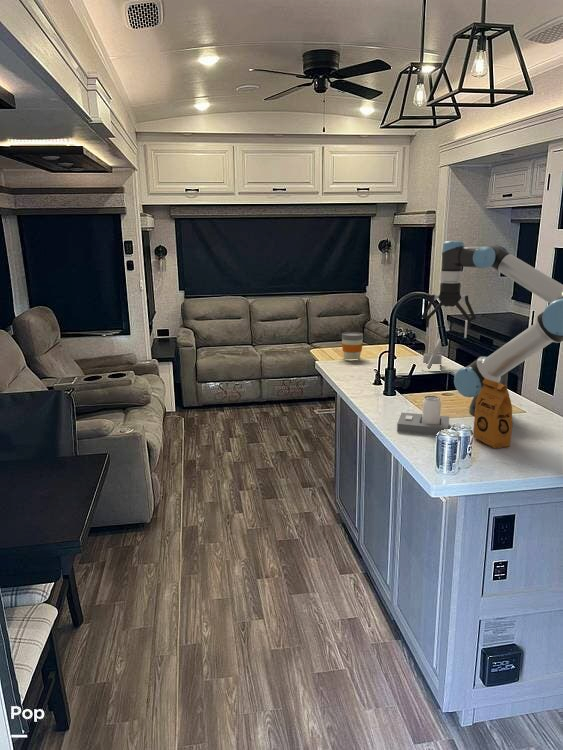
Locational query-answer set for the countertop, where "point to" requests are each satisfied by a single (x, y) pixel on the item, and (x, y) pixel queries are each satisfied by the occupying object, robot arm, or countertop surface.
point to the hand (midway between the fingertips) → (447, 336)
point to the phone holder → (433, 356)
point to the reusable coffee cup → (352, 345)
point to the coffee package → (493, 415)
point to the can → (431, 410)
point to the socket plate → (420, 424)
